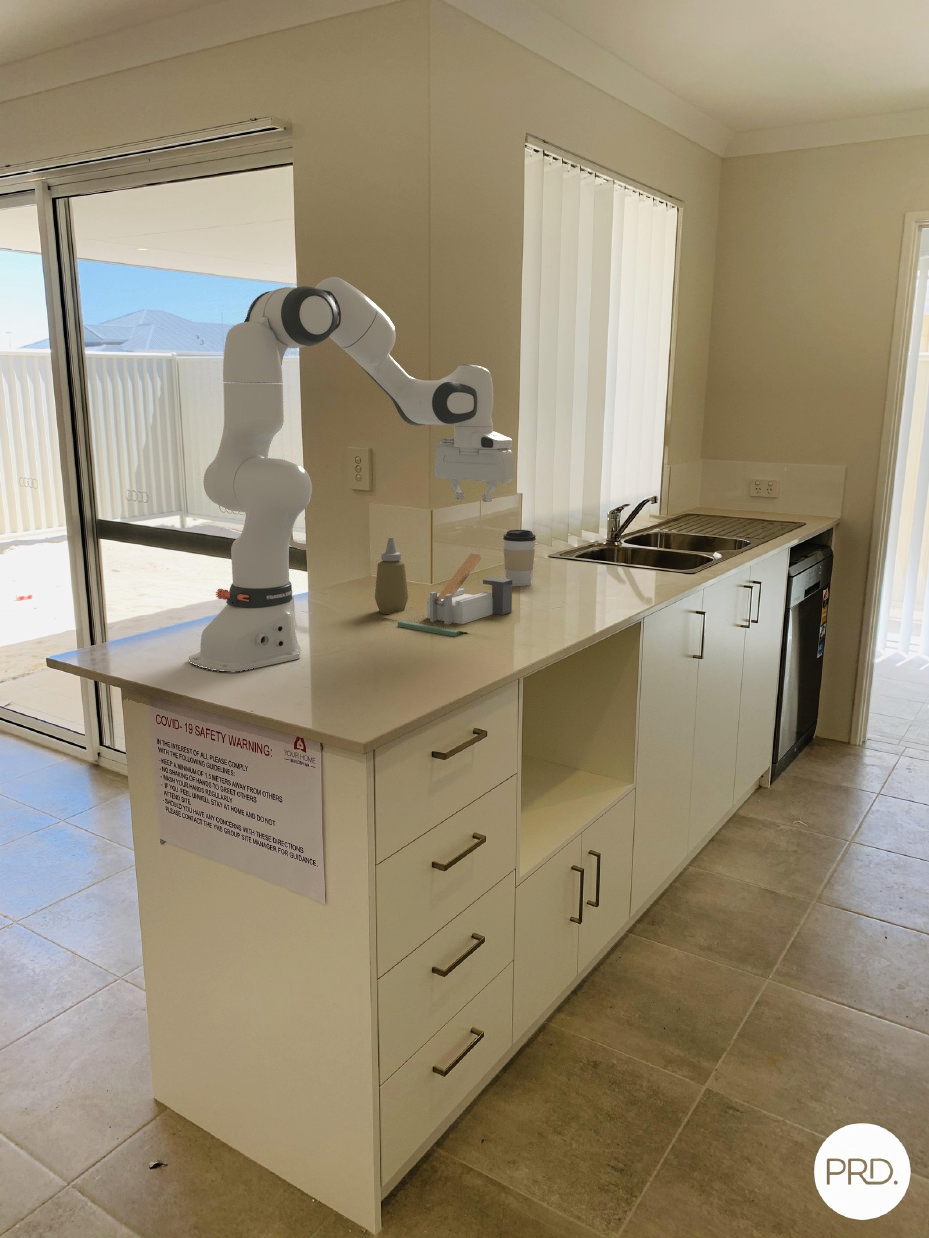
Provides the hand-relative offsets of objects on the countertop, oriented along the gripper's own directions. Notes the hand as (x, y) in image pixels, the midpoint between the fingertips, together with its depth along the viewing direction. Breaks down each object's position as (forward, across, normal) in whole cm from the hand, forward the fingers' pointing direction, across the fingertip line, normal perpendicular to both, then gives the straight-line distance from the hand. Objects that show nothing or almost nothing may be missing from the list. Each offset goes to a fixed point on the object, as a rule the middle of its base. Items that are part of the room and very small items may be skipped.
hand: (473, 500), depth 216 cm
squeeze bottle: (+28, -18, -8) cm, 34 cm away
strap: (+18, 0, -6) cm, 19 cm away
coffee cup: (+28, -12, +40) cm, 50 cm away
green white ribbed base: (+27, 0, -6) cm, 28 cm away
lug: (+26, +5, +4) cm, 27 cm away
